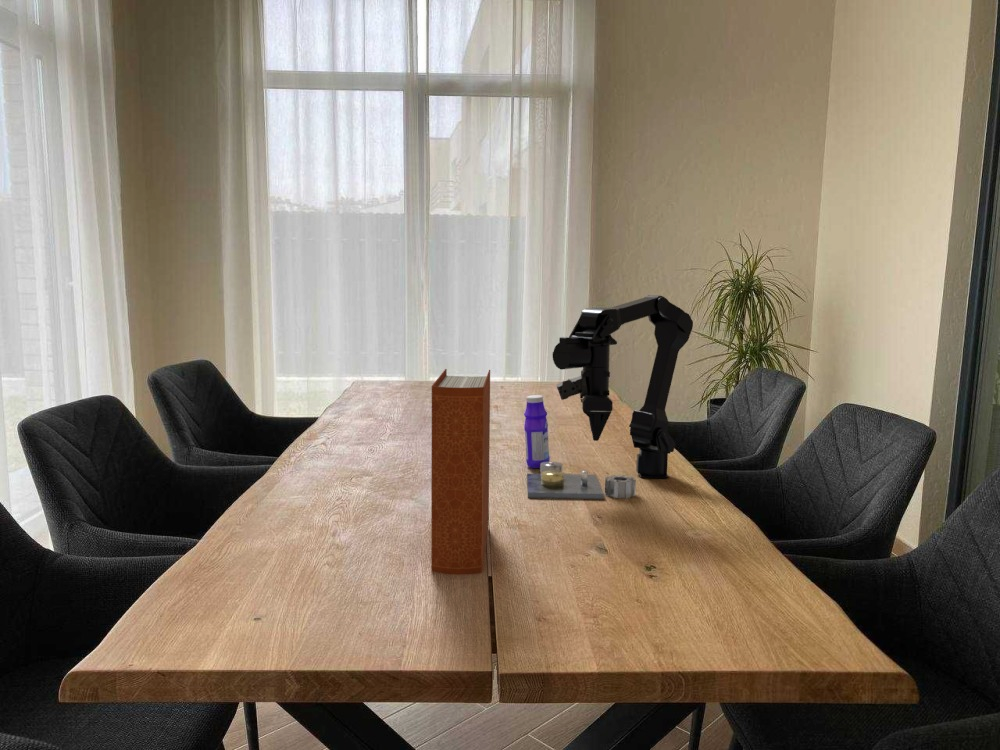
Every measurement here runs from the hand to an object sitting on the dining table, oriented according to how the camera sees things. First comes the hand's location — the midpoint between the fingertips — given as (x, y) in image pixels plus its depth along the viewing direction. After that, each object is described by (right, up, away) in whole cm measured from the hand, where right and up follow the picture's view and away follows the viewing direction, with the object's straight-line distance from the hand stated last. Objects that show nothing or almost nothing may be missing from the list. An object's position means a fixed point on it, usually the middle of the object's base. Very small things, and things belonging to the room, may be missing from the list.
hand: (594, 436), depth 177 cm
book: (-28, -17, -39) cm, 50 cm away
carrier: (-7, -12, +1) cm, 14 cm away
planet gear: (+5, -12, -3) cm, 14 cm away
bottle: (-11, -9, +20) cm, 25 cm away
